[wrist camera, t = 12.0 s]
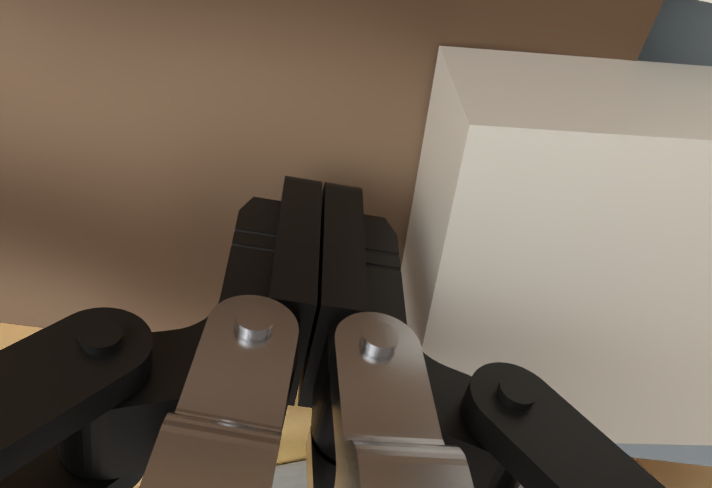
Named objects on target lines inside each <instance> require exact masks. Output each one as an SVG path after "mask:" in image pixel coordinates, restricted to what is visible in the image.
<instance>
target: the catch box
mask: <svg viewBox="0 0 712 488" xmlns="http://www.w3.org/2000/svg"><path fill="white" fill-rule="evenodd" d="M637 61H648V62H661V63H674V64H687V65H701V66H712V3H709V2H704V1H699V0H664V2H663V4H662V6H661V8H660V10H659V13H658V15H657V17H656V19H655V21H654V24H653V26H652V28H651V30H650V32H649V35H648V37H647V39H646V41H645V43H644V46H643V48H642V50H641V52H640V54H639V56H638V59H637ZM615 444H616V445H617V446H619V447H620V448H621V449H622V450H623V451H624V452H625V453H626V454H628V455H629V456H630V457H632V458H641V459H650V460H659V461H667V462H676V463H685V464H694V465H702V466H711V467H712V446H711V445H666V444H621V443H615Z"/></svg>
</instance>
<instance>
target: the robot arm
mask: <svg viewBox="0 0 712 488" xmlns="http://www.w3.org/2000/svg"><path fill="white" fill-rule="evenodd" d="M400 270H401V265H400V257H399V247H398V238H397V234H396V233H395V231H394V230H393V228H392V227H391V226H390V224H389V223H388V221H387V220H386V218H384V217H378V216H372V215H365V214H364V209H363V190H362V188H359V187H353V186H347V185H341V184H335V183H329V182H325V183H324V186H323V190H322V181H316V180H310V179H304V178H298V177H292V176H286V175H285V178H284V184H283V190H282V196H281V201H278V200H272V199H266V198H260V197H252V198H251V199H250V200H249V201H248V202H247V203H246V204H245V205H244V206H243V207H242V208H241V209H240V210H239V212H238V217H237V222H236V226H235V232H234V235H233V240H232V245H231V249H230V254H229V258H228V263H227V267H226V272H225V277H224V281H223V286H222V290H221V295H220V299H219V302H218V305H216V306H215V307H214V308H213V309H212V311H211V312H210V314H209V316H208V317H206V318H205V319H204V320H202V321H200V322H198V323H196V324H194V325H191V326H188V327H185V328H181V329H175V330H167V331H157V332H151V329H150V327H149V326H148V325H147V323H146V322H145V321H144V320H143V319H142V318H140V317H139V316H137V315H135V314H133V313H131V312H129V311H126V310H123V309H118V308H110V307H99V308H91V309H86V310H82V311H79V312H76V313H74V314H72V315H69V316H67V317H65V318H64V319H62V320H60V321H58V322H56V323H54V324H52V325H50V326H48V327H46V328H44V329H42V330H40V331H38V332H36V333H34V334H32V335H30V336H28V337H26V338H24V339H22V340H20V341H18V342H16V343H14V344H12V345H10V346H8V347H6V348H4V349H2V350H0V488H133V487H134V486H135V485H136V484H137V483H138V482H139V481H140V480H141V478H142V477H143V478H142V481H141V484H140V487H139V488H272V484H273V479H274V473H275V468H276V462H277V457H278V451H279V446H280V440H281V433H282V432H281V431H282V428H283V424H284V419H285V415H286V410H287V406H288V405H292V406H294V404H295V399H296V395H297V391H298V386H299V394H298V406H302V407H310V408H312V422H311V428H310V432H309V436H308V440H307V444H306V465H307V488H519V486H520V484H521V485H522V486H523V487H524V488H665V487H664V486H663V485H662V484H661V483H660V482H658V481H657V480H656V479H655V478H654V477H653V476H652V475H650V474H649V473H648V472H647V471H646V470H645V469H644V468H642V467H641V466H640V465H639V464H638V463H637V462H636V461H634V460H633V459H632V458H631V457H630V456H629V455H628V454H626V453H625V452H624V451H623V450H622V449H621V448H620V447H619V446H617V445H616V444H615V443H614V442H613V441H612V440H611V439H609V438H608V437H607V436H606V435H605V434H604V433H603V432H601V431H600V430H599V429H598V428H597V427H596V426H595V425H593V424H592V423H591V422H590V421H589V420H588V419H587V418H585V417H584V416H583V415H582V414H581V413H580V412H579V411H577V410H576V409H575V408H574V407H573V406H572V405H571V404H569V403H568V402H567V401H566V400H565V399H564V398H563V397H562V396H560V395H559V394H558V393H557V392H556V391H555V390H554V389H552V388H551V387H550V386H549V385H548V384H547V383H546V382H544V381H543V380H542V379H541V378H540V377H538V376H537V375H536V374H534V373H532V372H531V371H529V370H527V369H525V368H523V367H520V366H517V365H515V364H510V363H503V362H493V363H489V364H485V365H483V366H481V367H480V368H478V369H477V370H476V371H475V372H474V374H473V376H470V375H468V374H465V373H462V372H460V371H457V370H455V369H452V368H450V367H447V366H445V365H443V364H441V363H439V362H437V361H435V360H433V359H432V358H430V357H429V356H428V355H426V354H425V353H424V352H423V351H422V347H421V344H420V341H419V339H418V337H417V335H416V334H415V333H414V332H413V330H412V329H411V328H409V327H408V326H407V319H406V310H405V301H404V292H403V283H402V274H401V272H400Z"/></svg>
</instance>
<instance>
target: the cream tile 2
mask: <svg viewBox="0 0 712 488" xmlns="http://www.w3.org/2000/svg"><path fill="white" fill-rule="evenodd" d="M401 274H402V283H403V292H404V301H405V310H406V319H407V326H408V327H409V328H411V329H412V330H413V332H414V333H415V334H416V335H417V337H418V339H419V341H420V344H421V347H422V351H423V352H424V353H425V354H426V355H428V356H429V357H430V358H432V359H433V360H435V361H437V362H439V363H441V364H443V365H445V366H447V367H450V368H452V369H455V370H457V371H460V372H462V373H465V374H468V375H470V376H473V374H474V372H475V371H476V370H477V369H478V368H480V367H481V366H483V365H485V364H489V363H493V362H503V363H510V364H515V365H517V366H520V367H523V368H525V369H527V370H529V371H531V372H532V373H534V374H536V375H537V376H538V377H540V378H541V379H542V380H543V381H544V382H546V383H547V384H548V385H549V386H550V387H551V388H552V389H554V390H555V391H556V392H557V393H558V394H559V395H560V396H562V397H563V398H564V399H565V400H566V401H567V402H568V403H569V404H571V405H572V406H573V407H574V408H575V409H576V410H577V411H579V412H580V413H581V414H582V415H583V416H584V417H585V418H587V419H588V420H589V421H590V422H591V423H592V424H593V425H595V426H596V427H597V428H598V429H599V430H600V431H601V432H603V433H604V434H605V435H606V436H607V437H608V438H609V439H611V440H612V441H613V442H614V443H621V444H666V445H711V446H712V66H701V65H687V64H674V63H661V62H648V61H631V60H619V59H608V58H595V57H582V56H569V55H556V54H543V53H530V52H516V51H503V50H490V49H477V48H464V47H451V46H439V50H438V56H437V61H436V67H435V73H434V79H433V85H432V91H431V97H430V102H429V108H428V114H427V120H426V126H425V132H424V137H423V143H422V149H421V155H420V161H419V167H418V172H417V178H416V184H415V190H414V196H413V202H412V208H411V213H410V219H409V225H408V231H407V237H406V243H405V248H404V254H403V260H402V266H401Z"/></svg>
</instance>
